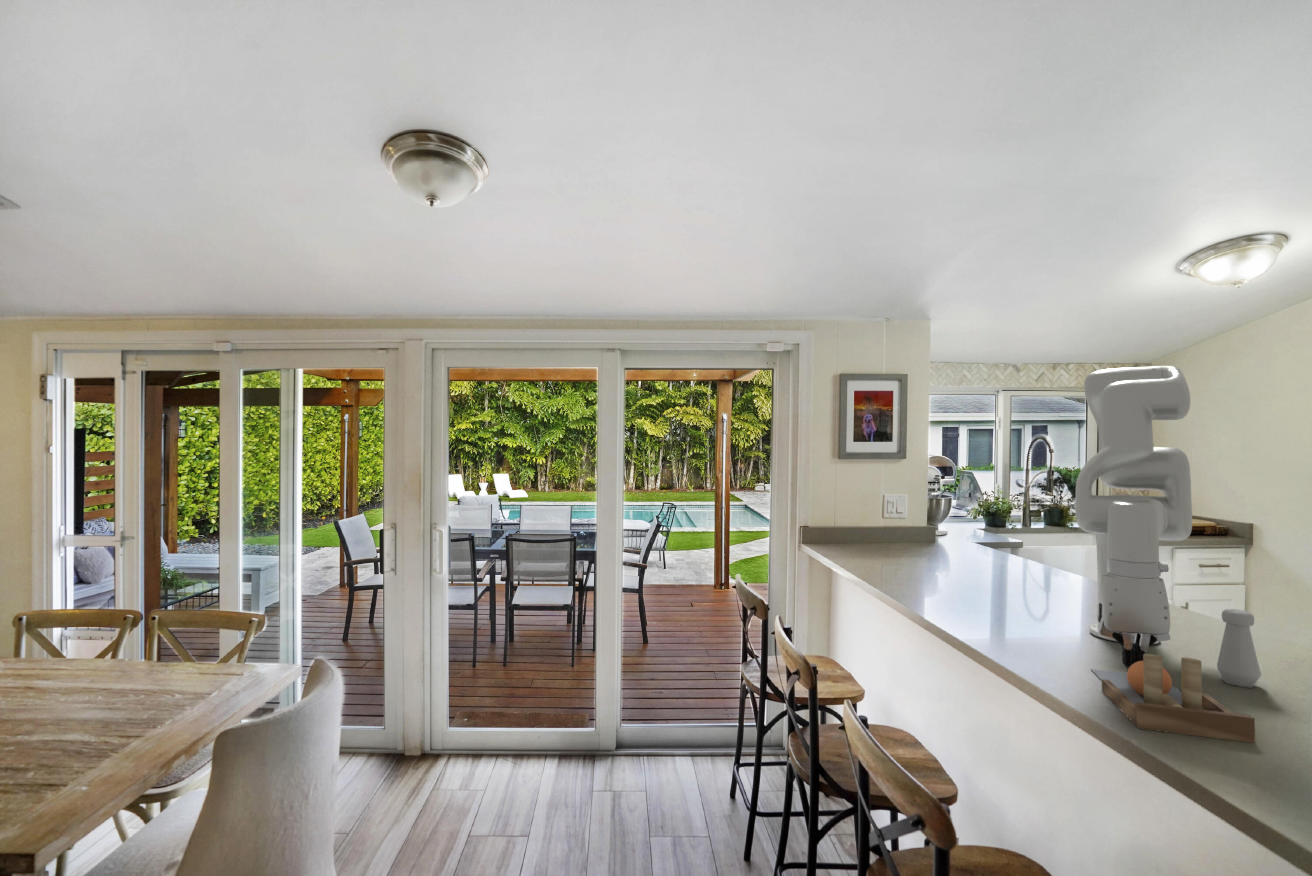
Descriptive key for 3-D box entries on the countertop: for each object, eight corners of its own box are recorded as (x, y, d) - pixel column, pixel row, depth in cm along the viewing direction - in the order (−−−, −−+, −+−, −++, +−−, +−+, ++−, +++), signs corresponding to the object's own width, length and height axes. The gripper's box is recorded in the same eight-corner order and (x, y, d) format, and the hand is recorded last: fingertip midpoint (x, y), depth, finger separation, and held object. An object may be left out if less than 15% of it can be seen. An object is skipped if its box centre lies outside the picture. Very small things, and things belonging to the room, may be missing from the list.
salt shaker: (1269, 690, 109) (1268, 615, 109) (1231, 688, 110) (1230, 614, 111) (1245, 678, 115) (1244, 607, 115) (1209, 676, 116) (1208, 605, 116)
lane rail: (1102, 690, 109) (1101, 670, 109) (1200, 701, 105) (1200, 680, 105) (1138, 728, 94) (1138, 705, 94) (1254, 742, 90) (1254, 718, 90)
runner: (1090, 670, 119) (1090, 669, 119) (1160, 677, 116) (1160, 676, 116) (1148, 728, 94) (1148, 727, 94) (1239, 739, 91) (1239, 738, 91)
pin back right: (1141, 709, 101) (1140, 653, 102) (1159, 711, 101) (1158, 655, 101) (1147, 715, 99) (1146, 658, 99) (1165, 717, 98) (1165, 659, 98)
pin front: (1155, 692, 102) (1181, 714, 94) (1173, 695, 101) (1201, 718, 93) (1154, 706, 102) (1180, 730, 94) (1172, 710, 102) (1199, 734, 93)
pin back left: (1179, 713, 100) (1178, 656, 100) (1197, 715, 99) (1196, 658, 99) (1186, 719, 98) (1185, 661, 98) (1205, 722, 97) (1204, 663, 97)
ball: (1133, 670, 104) (1134, 704, 105) (1177, 672, 102) (1178, 707, 103) (1121, 653, 110) (1122, 686, 110) (1162, 655, 108) (1164, 688, 108)
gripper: (1173, 567, 115) (1173, 667, 115) (1078, 563, 120) (1079, 658, 120) (1193, 576, 108) (1193, 682, 108) (1091, 571, 113) (1092, 672, 113)
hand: (1133, 669), depth 114 cm, fingers closed
